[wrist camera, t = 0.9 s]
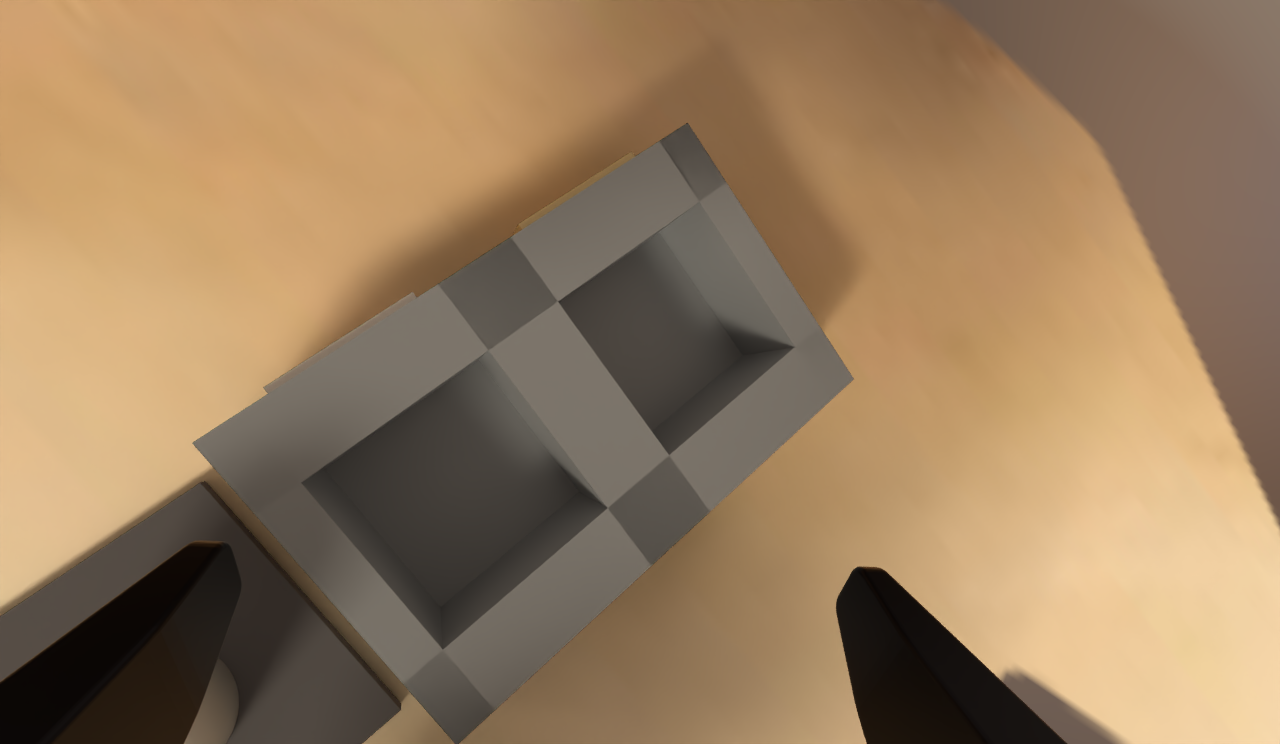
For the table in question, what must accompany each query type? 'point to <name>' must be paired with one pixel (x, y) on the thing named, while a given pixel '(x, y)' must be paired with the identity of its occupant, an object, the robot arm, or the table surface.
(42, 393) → the table surface
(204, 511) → the mat
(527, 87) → the table surface
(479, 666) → the socket block
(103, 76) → the table surface
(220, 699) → the beige and green cylinder
